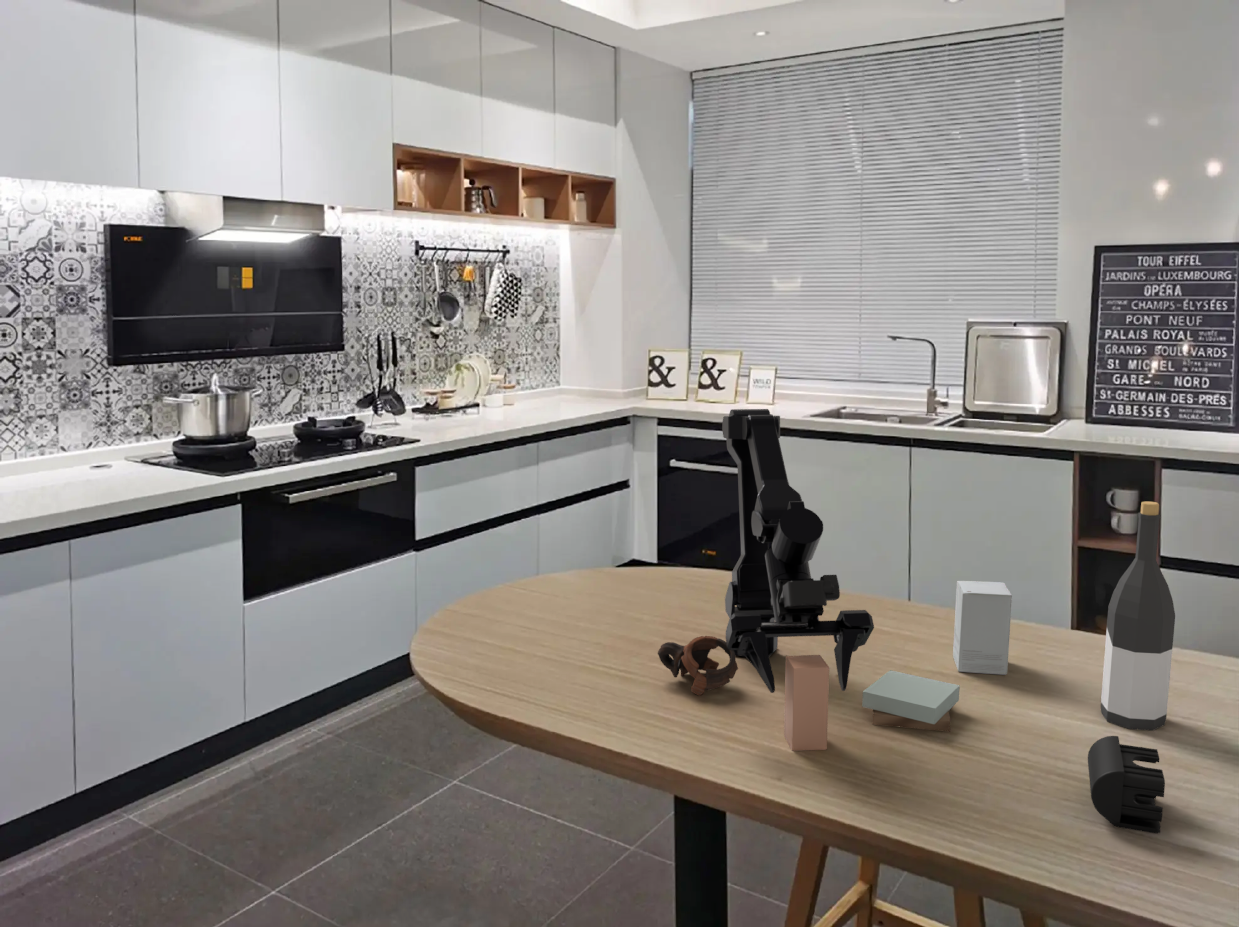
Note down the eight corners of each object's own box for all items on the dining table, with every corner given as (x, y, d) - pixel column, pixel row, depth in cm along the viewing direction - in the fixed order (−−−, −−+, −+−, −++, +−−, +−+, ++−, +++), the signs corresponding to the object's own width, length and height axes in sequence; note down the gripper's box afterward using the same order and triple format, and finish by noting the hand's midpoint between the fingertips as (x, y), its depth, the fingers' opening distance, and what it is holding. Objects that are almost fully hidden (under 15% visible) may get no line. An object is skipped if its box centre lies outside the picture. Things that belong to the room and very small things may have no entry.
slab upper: (862, 706, 144) (862, 691, 144) (889, 684, 152) (890, 670, 152) (934, 724, 138) (935, 708, 138) (958, 700, 146) (959, 685, 146)
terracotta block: (783, 735, 139) (785, 655, 137) (817, 734, 139) (819, 654, 137) (791, 750, 134) (794, 668, 132) (826, 749, 135) (829, 667, 133)
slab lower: (872, 729, 142) (872, 714, 142) (872, 700, 152) (873, 686, 151) (949, 736, 140) (950, 721, 139) (945, 707, 149) (946, 692, 149)
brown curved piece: (734, 675, 161) (746, 639, 156) (722, 722, 154) (734, 687, 149) (659, 651, 163) (668, 615, 158) (644, 697, 156) (653, 661, 151)
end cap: (1085, 785, 125) (1089, 731, 124) (1152, 795, 122) (1156, 740, 121) (1088, 825, 116) (1093, 767, 115) (1160, 837, 113) (1166, 778, 112)
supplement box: (1008, 675, 159) (1013, 595, 157) (957, 672, 161) (961, 592, 159) (1000, 658, 166) (1005, 581, 164) (952, 655, 168) (956, 579, 166)
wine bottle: (1162, 736, 138) (1182, 511, 133) (1095, 722, 142) (1112, 505, 137) (1168, 714, 145) (1187, 500, 140) (1104, 702, 149) (1120, 494, 144)
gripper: (730, 553, 136) (745, 665, 127) (872, 550, 137) (897, 661, 128) (719, 595, 145) (732, 702, 136) (852, 591, 146) (874, 697, 137)
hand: (808, 690), depth 134 cm, fingers open, 9 cm apart
